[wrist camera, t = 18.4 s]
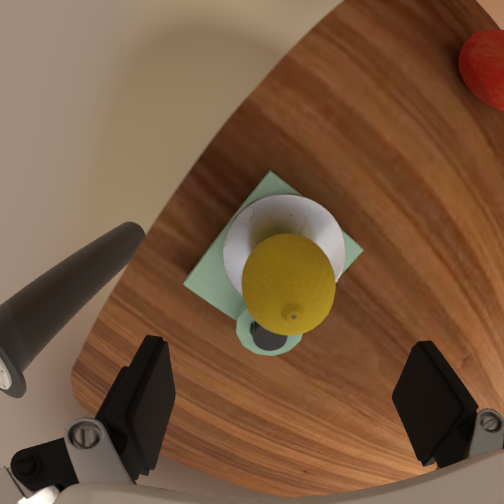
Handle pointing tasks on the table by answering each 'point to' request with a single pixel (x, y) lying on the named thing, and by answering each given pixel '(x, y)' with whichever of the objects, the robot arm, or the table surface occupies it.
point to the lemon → (288, 284)
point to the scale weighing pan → (281, 230)
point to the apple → (484, 66)
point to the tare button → (267, 338)
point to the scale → (221, 289)
